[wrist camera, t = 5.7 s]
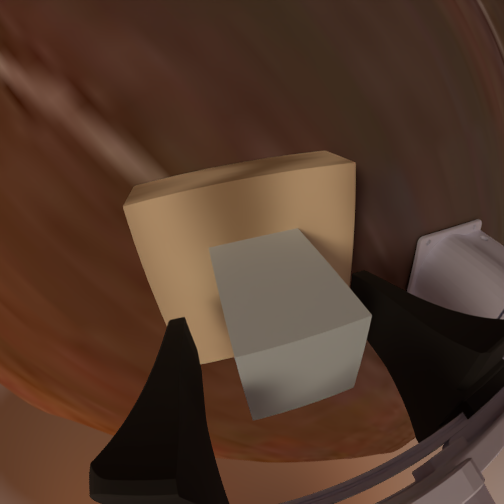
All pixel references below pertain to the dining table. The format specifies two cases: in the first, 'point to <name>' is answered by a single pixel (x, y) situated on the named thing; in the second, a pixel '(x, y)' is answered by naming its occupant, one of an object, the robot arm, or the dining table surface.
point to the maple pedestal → (236, 228)
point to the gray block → (288, 321)
